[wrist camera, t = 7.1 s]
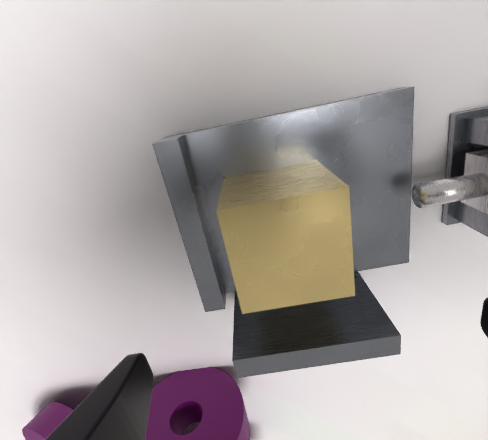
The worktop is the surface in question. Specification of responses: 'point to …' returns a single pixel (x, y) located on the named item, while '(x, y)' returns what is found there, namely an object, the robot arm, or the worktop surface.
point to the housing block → (287, 236)
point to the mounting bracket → (175, 409)
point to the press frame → (361, 206)
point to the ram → (458, 185)
